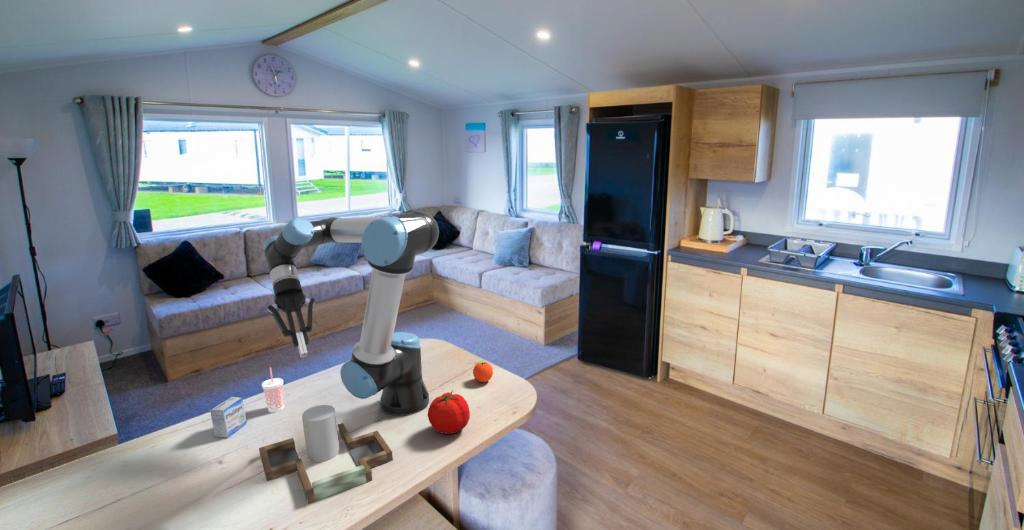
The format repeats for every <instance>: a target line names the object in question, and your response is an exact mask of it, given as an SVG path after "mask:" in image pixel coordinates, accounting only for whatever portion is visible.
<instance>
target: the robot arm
mask: <svg viewBox="0 0 1024 530" xmlns="http://www.w3.org/2000/svg"><path fill="white" fill-rule="evenodd" d="M439 235H440V229H439V225H438V222H437V220H436V219H435V218H434V217H433V215H430V214H429V213H427V212H426V211H422V210H413V211H408V212H402V213H398V214H393V215H384V216H382V217H381V216H380V217H379V216H378V217H376V216H375V217H350V218H349V217H345V218H343V217H340V216H332V217H327V218H324V219H317V220H312V221H311V220H308V219H306V218H302V217H293V218H292V219H290V220H289V221H288V222H287V224H285V225H284V227H283V228H282V230H281V232H280V233H279V234H278V235H274V236H271V237H269V238H267V239H266V240H265V241H264V243H263V252H264V257H265V259H266V264H267V269H268V273H269V276H270V281H271V285H272V290H273V294H274V298H275V299H274V303H273V304H269V305H268V306H267V313H268V314H270V315H271V316H272V318H273V319H274V320H275V323H276V324H277V327H279V329H280V331H281V333H282V335H283V337H290V338H291V341H292V345H293V346H294V347H297V348H298V352H299V356H300V359H301V358H307V357H308V349H307V346H306V345H308V344H309V337H308V333H311V332H312V330H313V308H314V306H315V303H316V299H315V298H313V297H312V298H308V297H307V296H306V294H304V292H303V288H302V284H301V281H300V277H299V272H298V270H297V268H298V267H297V266H296V261H295V259H296V258H297V256H298V255H299V254H300V253H301V252H302V251H303V250H304V249H308V248H312V247H316V246H320V245H326V244H330V243H331V244H333V243H338V244H339V243H342V244H343V243H354V244H356V243H357V244H359V243H360V244H361V249H362V250H364V252H363V254H364V257H365V259H367V265H368V267H370V268H371V269H372V271H371V277H370V281H369V286H368V287H369V288H368V292H367V293H368V294H367V300H366V304H365V305H366V306H365V312H364V315H363V316H364V317H363V323H362V326H361V327H362V329H361V333H360V334H361V335H360V340H359V341H358V342H357V343H355V344H354V345H353V347H352V352H351V358H350V360H348V361H345V363H343V364H342V365H341V367H340V380H341V382H342V384H343V386H344V387H345V389H346V390H347V392H349V393H350V395H352V396H354V397H356V398H357V399H360V400H361V399H362V400H365V399H369V398H371V397H372V396H375V395H377V394H378V393H379V392H381V391H382V392H381V397H380V409H381V411H382V412H384V413H385V414H389V415H392V416H408V415H411V414H415V413H418V412H420V411H422V410H424V409H425V408H427V406H428V405H430V404H429V403H430V393H429V391H428V388H427V386H426V384H425V381H424V379H423V368H422V367H423V366H422V353H421V352H422V351H421V350H422V347H421V343H420V342H421V341H420V338H419V336H418V335H417V334H414V333H411V332H405V331H397V332H395V328H396V323H397V320H398V319H397V318H398V314H399V308H400V303H401V298H402V294H403V288H404V283H405V279H406V275H408V274H410V273H411V272H412V271H413V269H414V263H415V260H416V256H419V255H421V254H424V253H427V252H428V251H430V250H431V249H433V248H434V246H435V245H436V244H437V242H438V239H439ZM304 305H306V307H307V318H306V320H307V321H306V324H305V320H304V317H303V313H302V308H303V306H304ZM278 309H279V310H281V311H282V312H283V313H285V317H286V321H287V325H288V327H287V325H286V323H285V322H284V319H283V318H282V316H281V315H280V313H279V311H278ZM293 312H294V313H295V316H296V320H297V324H298V327H299V331H298V332H296V331H297V330H296V327H295V322H294V318H293V314H292V313H293Z"/></svg>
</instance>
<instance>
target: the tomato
mask: <svg viewBox="0 0 1024 530" xmlns="http://www.w3.org/2000/svg"><path fill="white" fill-rule="evenodd" d="M453 392H454V389H453V390H452V391H451V392H443V394H442V395H438V396H437V397H435V398H434V399H433V400H432V401H431V403H430V404H429V407H428V410H427V418H428V421H429V423H430V425H431V427H432V428H433V429H434V430H435V431H436V432H438V433H441V434H446V435H451V434H455V433H457V432H459V431H461V430H463V429H464V428H465V427H466V426H467V425H468V423H469V420H470V416H471V415H470V414H471V411H470V406H469V404H468V402H467V399H465V397H463V395H461V394H458V393H455V394H454V393H453Z"/></svg>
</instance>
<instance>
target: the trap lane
mask: <svg viewBox="0 0 1024 530" xmlns="http://www.w3.org/2000/svg"><path fill="white" fill-rule="evenodd" d="M337 432H338V434H339V435H340V437H341V439H342V441H343V443H344V444H345V447H346V448H347V450H348V452H349V453H350V455H351V458H352V459H353V461H354V463H355V464H356V466H355V467H352V468H349V469H347V470H343V471H341V472H337V473H335V474H333V475H330V476H327V477H324V478H320V479H318V480H314V481H313V482H311V481H310V479H309V476H308V473H307V470H306V467H305V465H304V462H303V459H302V457H299V455H298V452H297V449H296V443H295V439H294V437H291V438H288V439H285V440H282V441H278V442H275V443H271V444H268V445H264V446H261V447H259V448H258V451H259V456H260V457H259V458H260V460H261V464H262V468H263V472H264V476H265V480H266V482H270V481H273V480H276V479H278V478H279V479H280V478H281V477H286V476H288V475H290V474H294V473H297V476H298V478H299V481H300V484H301V486H302V491H303V493H304V495H305V498H306V500H307V504H311V503H313V502H316V501H318V500H322V499H324V498H327V497H330V496H332V495H335V494H338V493H341V492H343V491H346V490H349V489H352V488H355V487H358V486H360V485H363V484H366V483H368V482H371V481H373V473H372V468H375V467H376V466H380V465H383V464H385V463H388V462H391V461H393V459H394V458H393V450H392V449H391V448H390V446H389V445H388V443H387V442H386V440H385V439H384V437H383V436H382V435H381V433H380V432H379V430H374V431H371V432H369V433H365V434H362V435H359V436H356V437H352V436H351V434H350V432H349V431H348V429H347V427H346V425H345V423H344V422H341V423H337ZM374 466H375V467H374Z"/></svg>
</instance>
